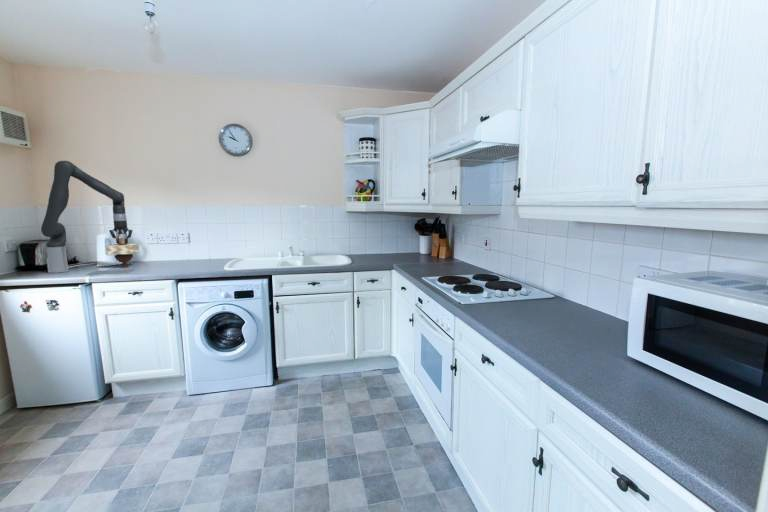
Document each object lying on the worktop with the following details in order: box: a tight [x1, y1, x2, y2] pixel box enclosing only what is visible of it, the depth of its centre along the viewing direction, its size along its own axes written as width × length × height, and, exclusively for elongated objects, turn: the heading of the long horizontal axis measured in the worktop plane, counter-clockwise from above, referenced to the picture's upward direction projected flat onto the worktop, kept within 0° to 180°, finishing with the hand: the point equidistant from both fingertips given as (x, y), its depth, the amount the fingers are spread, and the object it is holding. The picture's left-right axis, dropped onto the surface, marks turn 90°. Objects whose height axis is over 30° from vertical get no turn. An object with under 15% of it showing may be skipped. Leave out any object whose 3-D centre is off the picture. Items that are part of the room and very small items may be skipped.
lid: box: [105, 237, 140, 256], centre depth 249 cm, size 15×15×11 cm
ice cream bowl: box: [113, 253, 134, 269], centre depth 250 cm, size 11×11×15 cm
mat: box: [85, 268, 137, 276], centre depth 233 cm, size 24×15×1 cm, turn 107°
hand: (122, 243), depth 249 cm, fingers closed on lid, 4 cm apart
